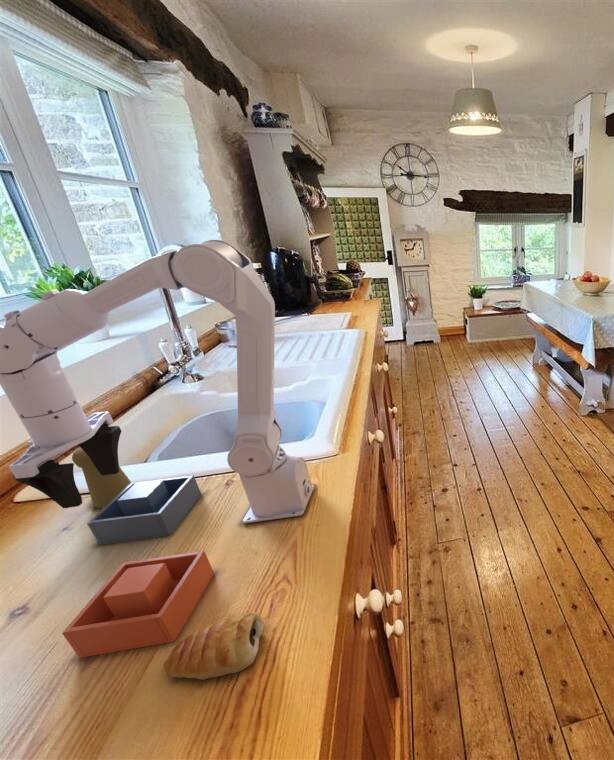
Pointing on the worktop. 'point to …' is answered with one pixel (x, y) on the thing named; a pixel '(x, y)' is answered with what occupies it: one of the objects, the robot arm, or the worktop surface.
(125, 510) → the slate block
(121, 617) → the terracotta block
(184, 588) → the terracotta bin
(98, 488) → the cork
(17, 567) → the worktop surface
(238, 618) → the pastry
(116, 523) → the slate bin
